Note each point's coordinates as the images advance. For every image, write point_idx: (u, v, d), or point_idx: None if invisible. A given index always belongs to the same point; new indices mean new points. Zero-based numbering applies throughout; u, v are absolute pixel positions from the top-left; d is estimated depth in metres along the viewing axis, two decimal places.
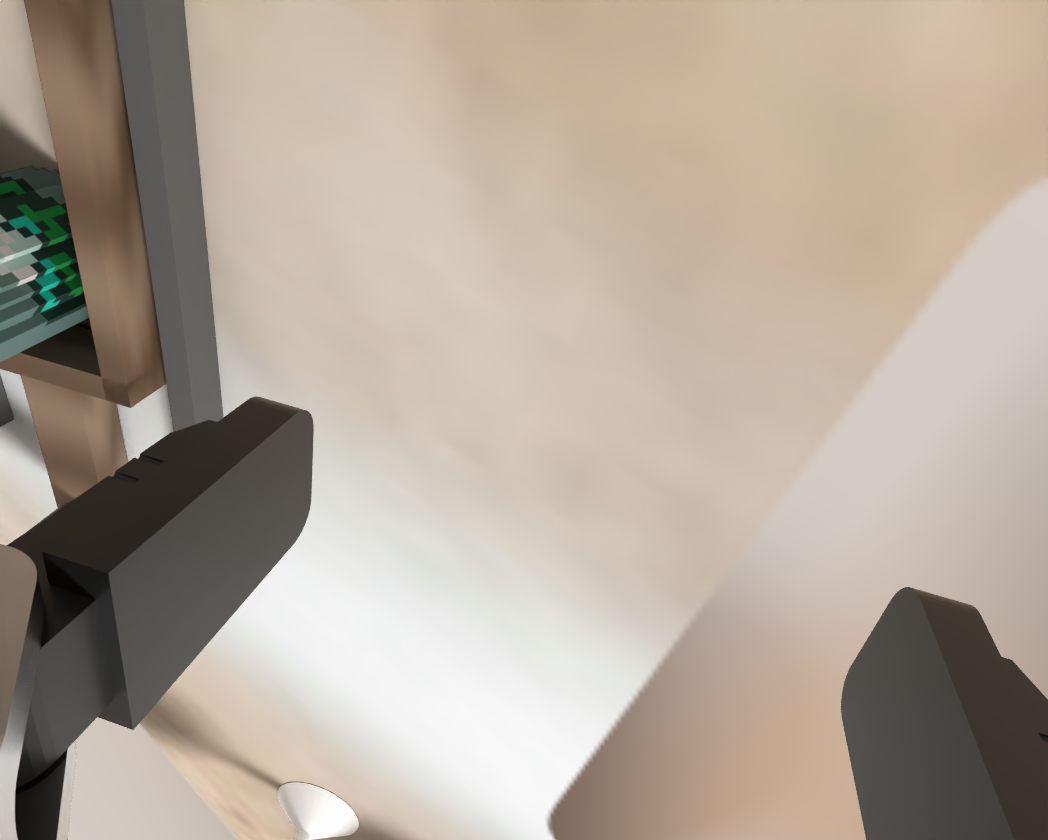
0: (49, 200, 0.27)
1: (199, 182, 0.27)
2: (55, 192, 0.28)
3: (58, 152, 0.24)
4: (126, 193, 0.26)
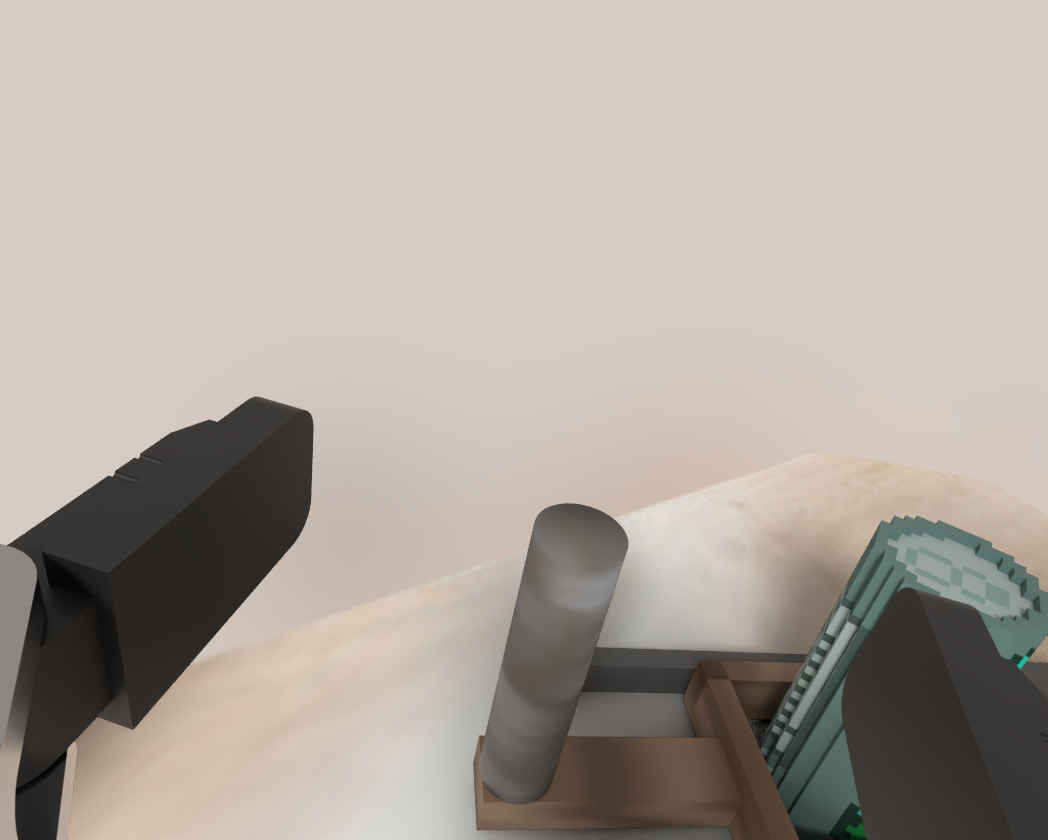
0: None
1: None
2: None
3: None
4: None
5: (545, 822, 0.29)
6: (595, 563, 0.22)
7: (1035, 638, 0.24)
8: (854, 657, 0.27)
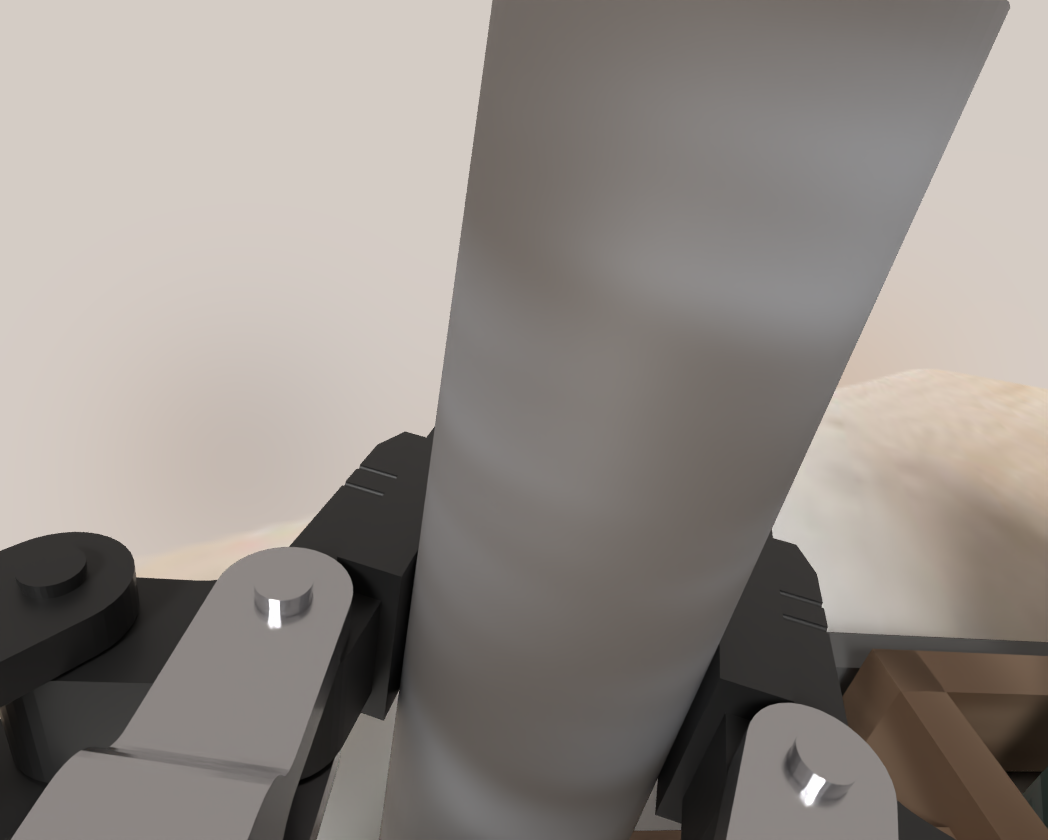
0: None
1: None
2: None
3: None
4: None
5: None
6: None
7: None
8: None
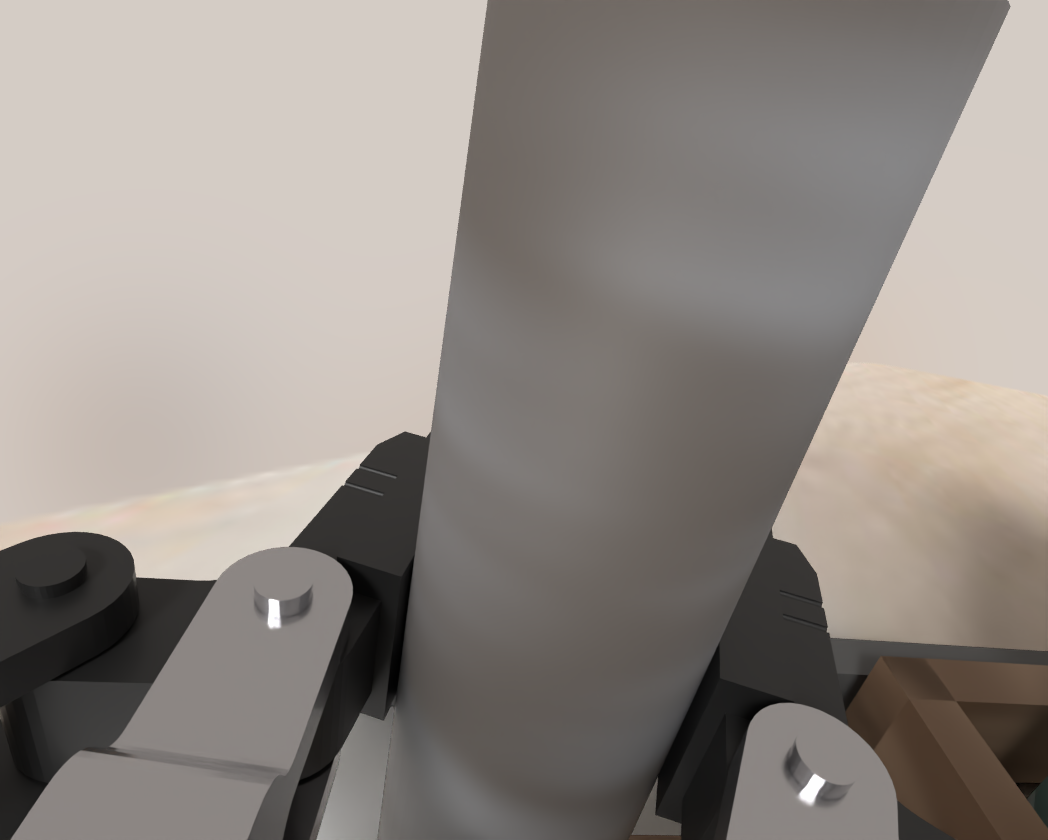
0: None
1: None
2: None
3: None
4: None
5: None
6: None
7: None
8: None
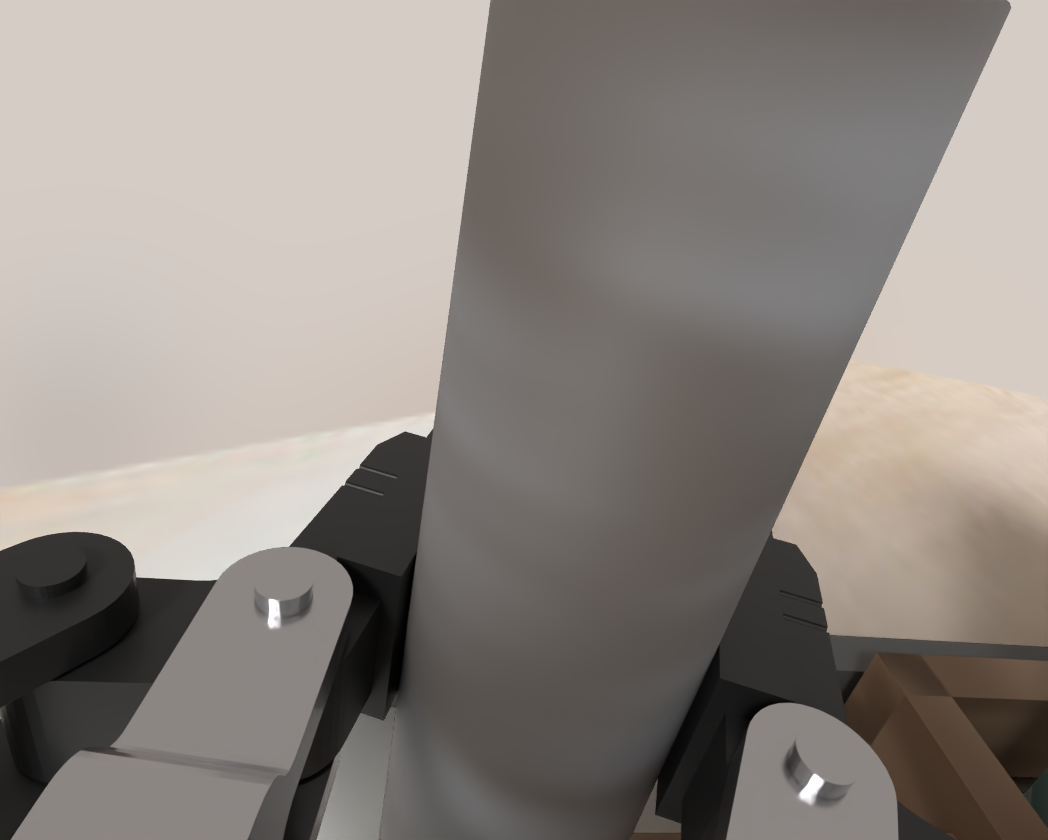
0: None
1: None
2: None
3: None
4: None
5: None
6: None
7: None
8: None
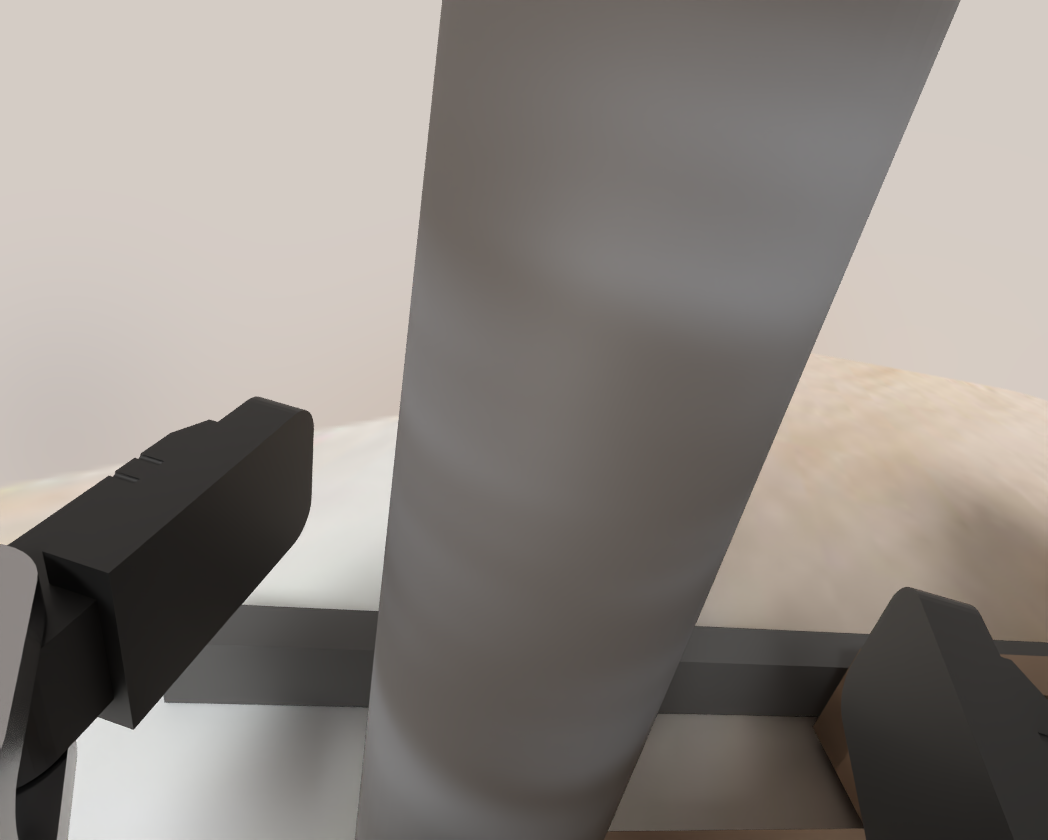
0: None
1: None
2: None
3: None
4: None
5: None
6: None
7: None
8: None
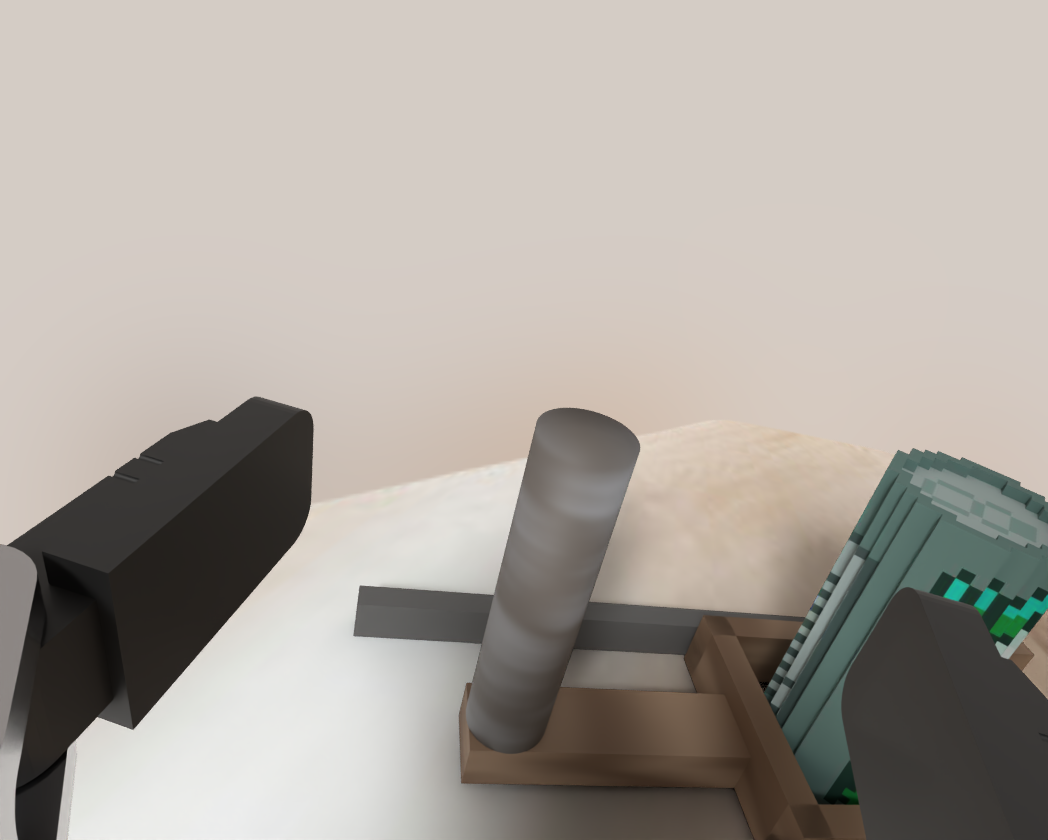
0: None
1: None
2: None
3: None
4: None
5: (537, 776, 0.27)
6: (604, 461, 0.20)
7: None
8: (859, 594, 0.25)
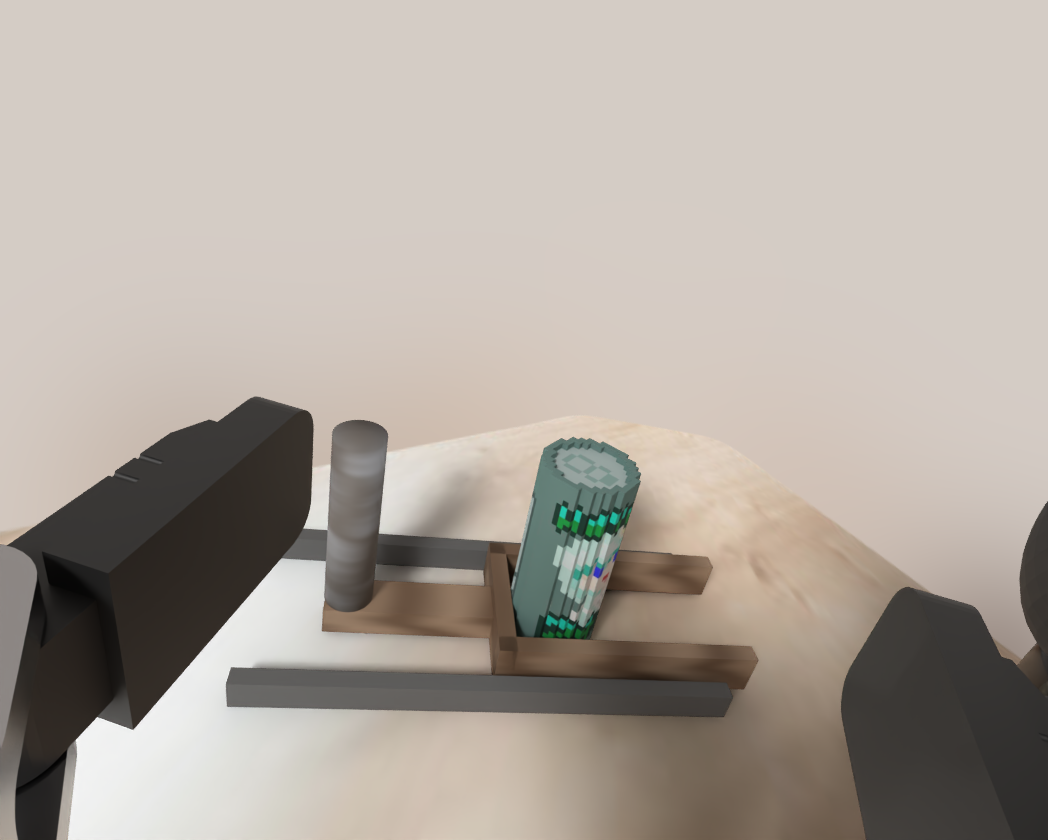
0: (588, 634, 0.49)
1: (487, 711, 0.44)
2: (588, 637, 0.49)
3: (648, 643, 0.47)
4: (625, 672, 0.46)
5: (366, 627, 0.47)
6: (361, 447, 0.40)
7: (610, 499, 0.41)
8: None
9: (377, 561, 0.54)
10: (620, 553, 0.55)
